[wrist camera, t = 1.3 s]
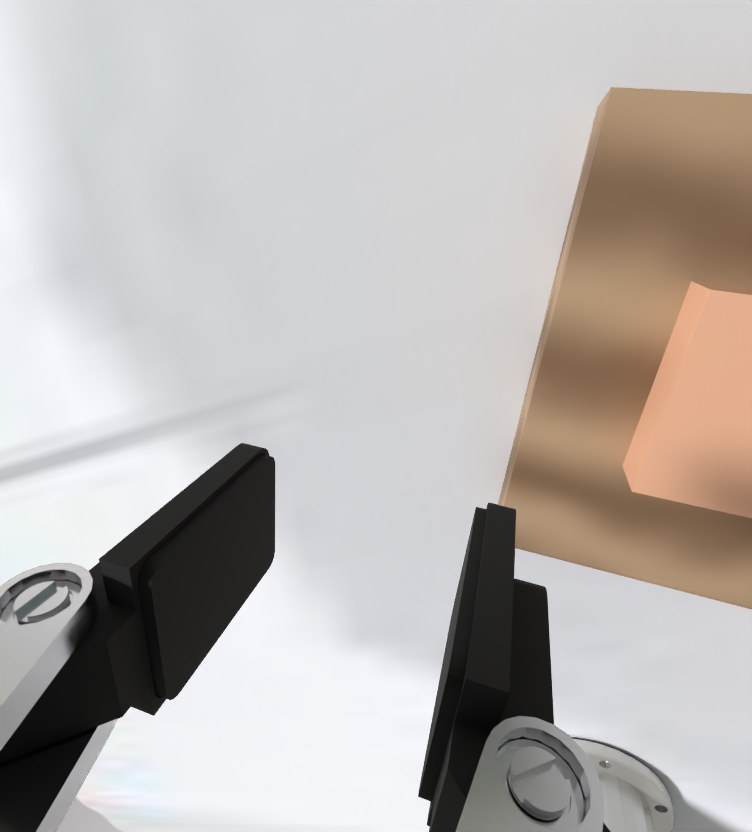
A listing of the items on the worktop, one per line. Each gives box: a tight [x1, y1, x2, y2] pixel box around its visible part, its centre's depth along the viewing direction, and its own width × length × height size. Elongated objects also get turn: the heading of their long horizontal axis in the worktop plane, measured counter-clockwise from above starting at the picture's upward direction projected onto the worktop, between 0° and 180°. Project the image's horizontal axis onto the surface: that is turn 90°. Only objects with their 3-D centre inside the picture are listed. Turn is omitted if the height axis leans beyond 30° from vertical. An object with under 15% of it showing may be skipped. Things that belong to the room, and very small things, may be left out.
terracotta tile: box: [623, 281, 752, 518], centre depth 20 cm, size 9×6×2 cm, turn 175°
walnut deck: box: [498, 87, 752, 609], centre depth 23 cm, size 22×14×4 cm, turn 175°
